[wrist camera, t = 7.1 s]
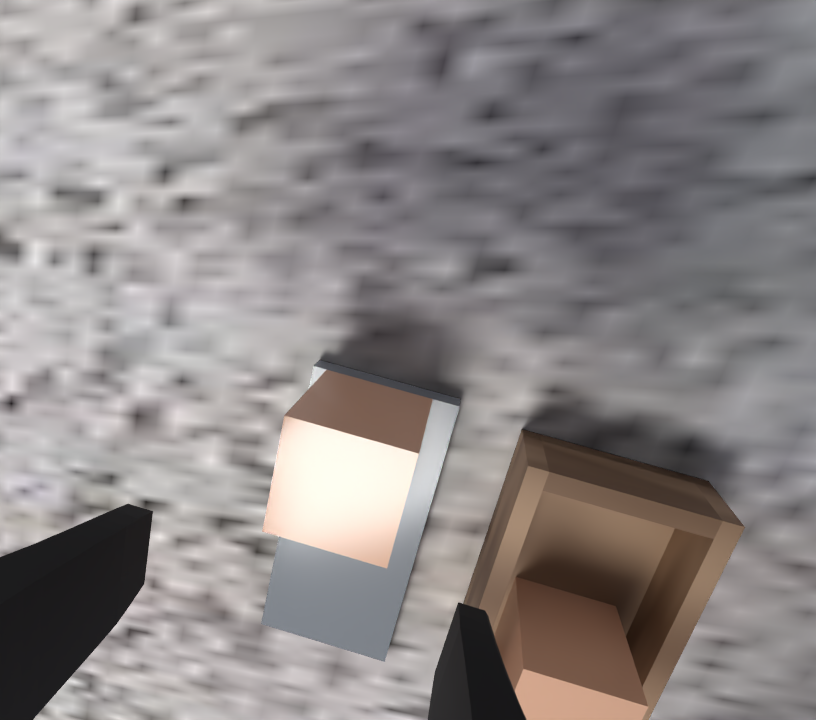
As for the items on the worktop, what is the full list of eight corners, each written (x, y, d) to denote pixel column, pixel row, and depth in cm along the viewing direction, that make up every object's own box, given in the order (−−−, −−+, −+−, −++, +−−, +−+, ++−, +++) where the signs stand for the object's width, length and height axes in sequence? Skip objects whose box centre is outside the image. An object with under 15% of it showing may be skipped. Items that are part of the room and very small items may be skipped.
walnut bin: (605, 703, 24) (621, 772, 21) (445, 655, 24) (440, 716, 21) (708, 481, 20) (745, 527, 18) (522, 429, 21) (528, 465, 18)
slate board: (387, 647, 24) (384, 661, 24) (268, 610, 25) (261, 623, 24) (460, 398, 21) (459, 406, 20) (319, 359, 21) (313, 366, 20)
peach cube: (581, 683, 23) (604, 795, 19) (487, 654, 23) (487, 759, 19) (615, 606, 22) (648, 706, 17) (515, 576, 22) (523, 668, 18)
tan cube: (406, 493, 21) (386, 568, 17) (306, 465, 21) (262, 531, 17) (433, 399, 20) (418, 453, 16) (326, 369, 20) (284, 415, 16)
